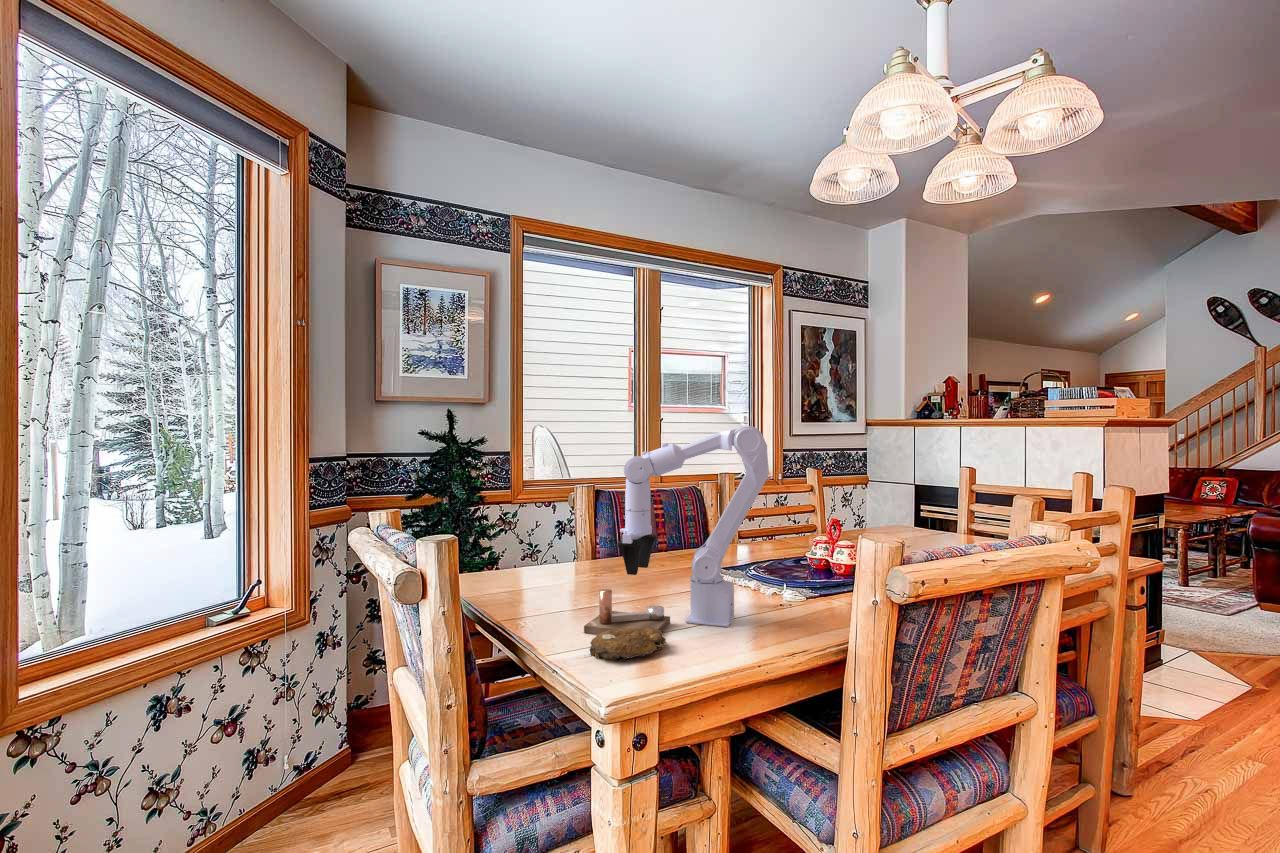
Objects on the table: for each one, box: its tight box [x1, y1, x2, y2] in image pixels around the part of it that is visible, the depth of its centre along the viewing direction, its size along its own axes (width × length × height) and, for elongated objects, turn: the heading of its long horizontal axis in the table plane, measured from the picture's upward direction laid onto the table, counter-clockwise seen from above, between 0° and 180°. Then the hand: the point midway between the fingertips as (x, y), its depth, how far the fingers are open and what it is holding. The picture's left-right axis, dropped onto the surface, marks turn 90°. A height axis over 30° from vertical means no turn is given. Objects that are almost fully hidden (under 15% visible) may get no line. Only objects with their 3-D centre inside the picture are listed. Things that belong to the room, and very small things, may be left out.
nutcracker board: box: [583, 610, 671, 636], centre depth 131 cm, size 15×12×2 cm
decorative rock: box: [589, 627, 668, 660], centre depth 117 cm, size 11×4×15 cm
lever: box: [598, 588, 665, 624], centre depth 131 cm, size 14×4×6 cm, turn 106°
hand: (637, 570), depth 139 cm, fingers open, 7 cm apart
